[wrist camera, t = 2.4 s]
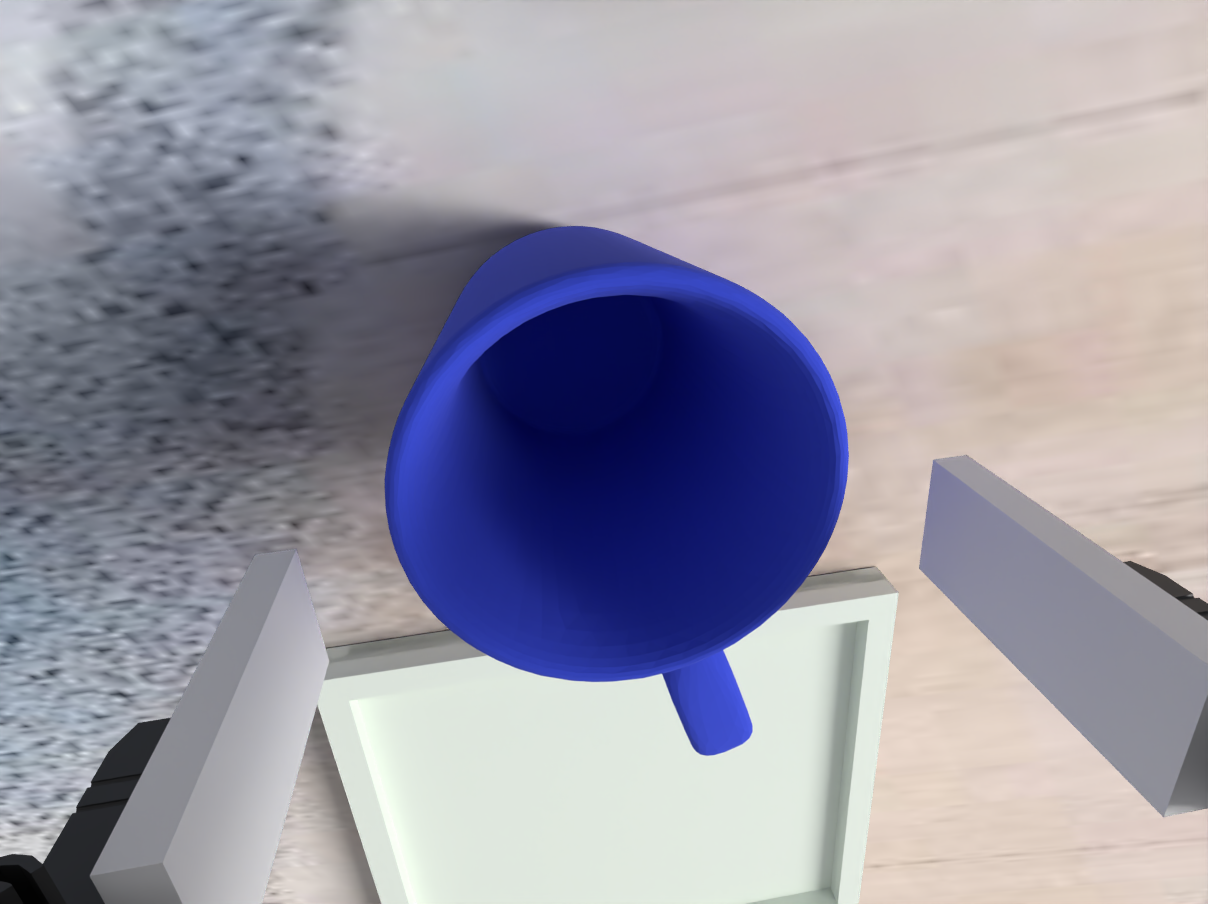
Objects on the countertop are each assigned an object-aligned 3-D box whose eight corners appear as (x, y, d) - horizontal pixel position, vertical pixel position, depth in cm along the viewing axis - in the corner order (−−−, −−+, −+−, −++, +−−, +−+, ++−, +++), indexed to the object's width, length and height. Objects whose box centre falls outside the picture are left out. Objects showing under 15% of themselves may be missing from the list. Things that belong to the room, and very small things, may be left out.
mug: (541, 591, 25) (571, 855, 16) (375, 260, 20) (285, 386, 11) (763, 504, 25) (916, 724, 16) (655, 147, 20) (796, 181, 11)
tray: (320, 649, 25) (310, 682, 24) (876, 566, 27) (898, 592, 26) (416, 963, 33) (412, 1002, 31) (842, 880, 35) (857, 914, 33)
